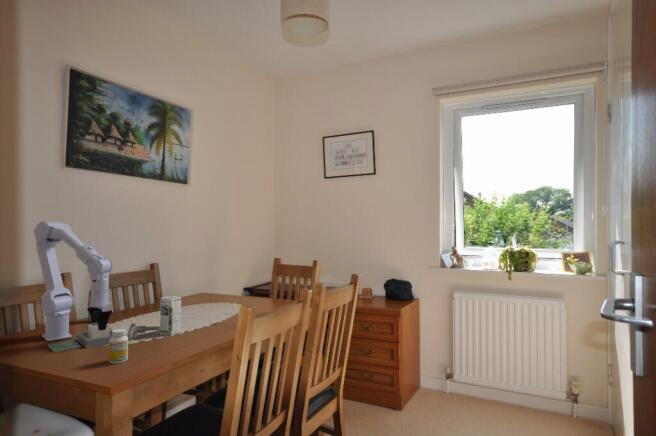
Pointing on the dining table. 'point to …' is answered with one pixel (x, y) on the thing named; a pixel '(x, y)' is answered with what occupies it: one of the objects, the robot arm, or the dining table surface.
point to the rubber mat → (63, 346)
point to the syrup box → (170, 315)
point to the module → (97, 331)
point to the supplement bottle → (118, 346)
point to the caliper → (139, 330)
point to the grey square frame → (88, 343)
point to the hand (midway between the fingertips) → (99, 328)
